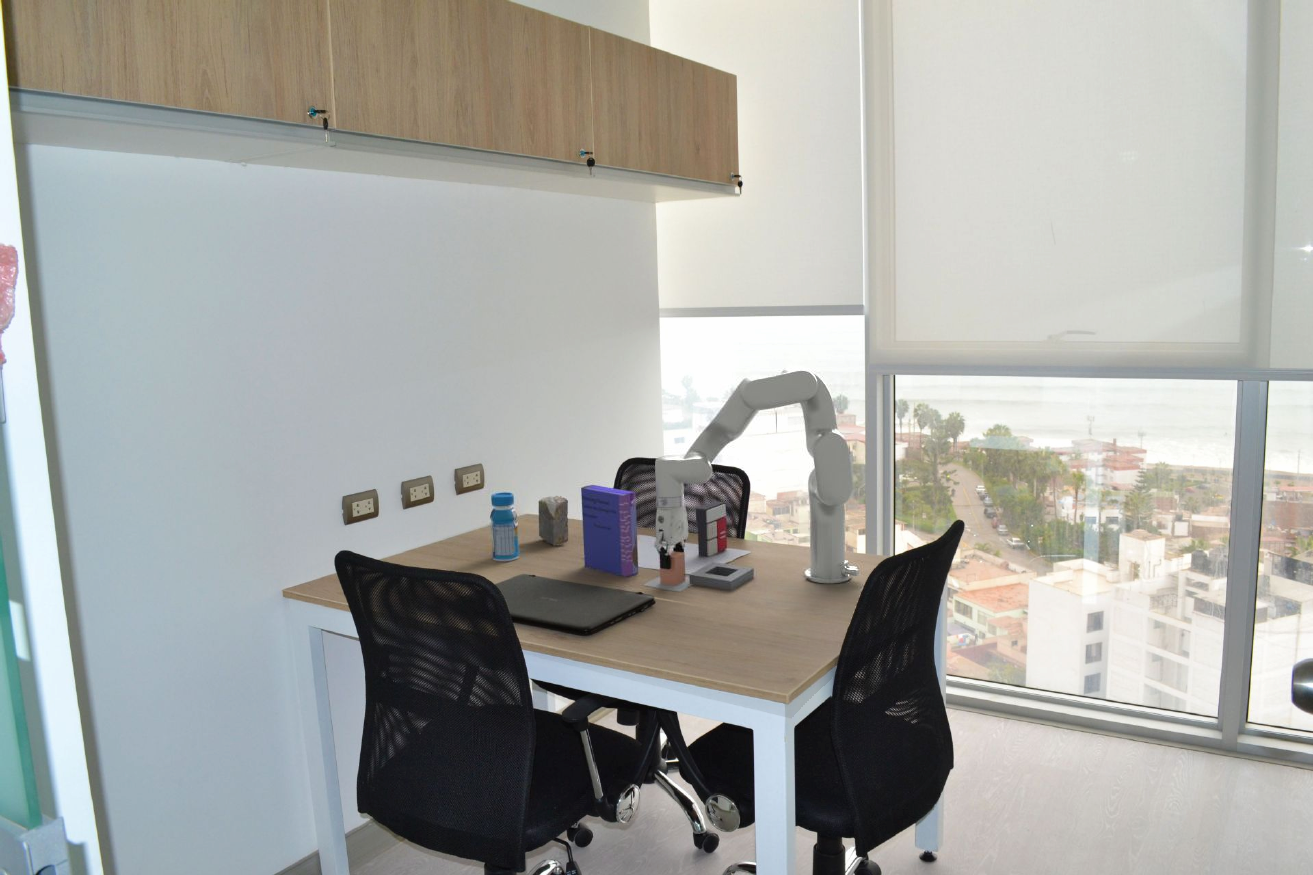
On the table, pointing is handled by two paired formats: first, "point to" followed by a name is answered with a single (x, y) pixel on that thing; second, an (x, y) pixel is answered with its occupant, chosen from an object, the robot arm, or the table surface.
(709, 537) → the grey and red box
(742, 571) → the pocket tray
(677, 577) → the block
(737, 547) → the table surface
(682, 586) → the mat
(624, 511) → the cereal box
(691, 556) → the table surface
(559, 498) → the geological specimen
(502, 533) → the beverage bottle
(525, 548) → the table surface
